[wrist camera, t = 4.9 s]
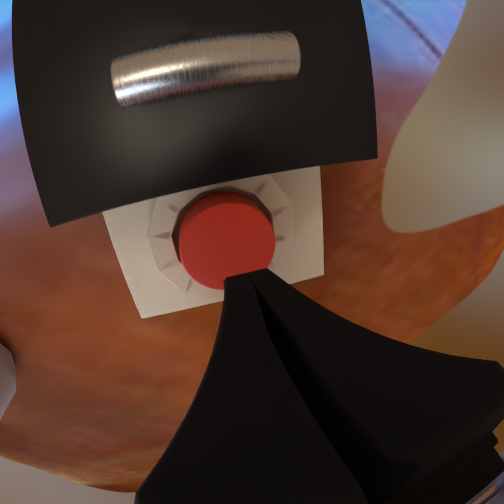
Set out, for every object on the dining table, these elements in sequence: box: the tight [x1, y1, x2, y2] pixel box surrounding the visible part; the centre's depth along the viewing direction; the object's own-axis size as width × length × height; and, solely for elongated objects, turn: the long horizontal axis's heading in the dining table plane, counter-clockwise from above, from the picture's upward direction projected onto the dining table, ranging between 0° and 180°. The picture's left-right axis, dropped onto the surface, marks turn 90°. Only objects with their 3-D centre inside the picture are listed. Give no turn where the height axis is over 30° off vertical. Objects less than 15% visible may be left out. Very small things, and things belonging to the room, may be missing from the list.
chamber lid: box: [12, 0, 378, 227], centre depth 7 cm, size 12×14×4 cm
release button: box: [179, 192, 276, 290], centre depth 14 cm, size 4×4×2 cm
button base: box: [103, 166, 324, 318], centre depth 16 cm, size 9×12×3 cm
